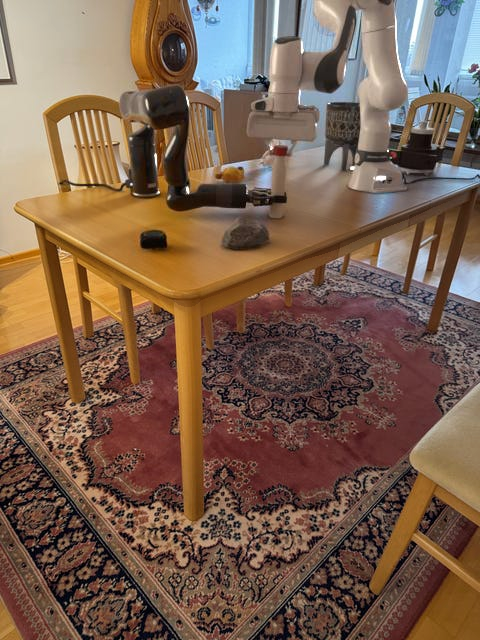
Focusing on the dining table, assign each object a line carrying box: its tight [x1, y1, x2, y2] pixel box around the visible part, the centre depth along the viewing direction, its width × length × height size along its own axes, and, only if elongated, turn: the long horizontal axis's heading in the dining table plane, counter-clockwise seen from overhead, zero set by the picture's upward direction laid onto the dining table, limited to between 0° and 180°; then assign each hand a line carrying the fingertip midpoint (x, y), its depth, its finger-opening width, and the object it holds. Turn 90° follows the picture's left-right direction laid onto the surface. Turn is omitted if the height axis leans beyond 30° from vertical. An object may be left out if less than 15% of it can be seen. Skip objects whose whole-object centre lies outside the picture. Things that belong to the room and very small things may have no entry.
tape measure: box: [139, 229, 168, 250], centre depth 117 cm, size 7×7×4 cm
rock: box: [221, 216, 270, 250], centre depth 119 cm, size 13×9×6 cm, turn 131°
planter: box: [323, 101, 361, 172], centre depth 204 cm, size 20×20×26 cm
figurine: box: [258, 139, 282, 169], centre depth 203 cm, size 8×15×13 cm, turn 146°
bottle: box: [268, 156, 287, 219], centre depth 138 cm, size 4×4×20 cm
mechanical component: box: [388, 120, 446, 176], centre depth 202 cm, size 22×21×30 cm
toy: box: [214, 165, 246, 184], centre depth 181 cm, size 11×6×15 cm
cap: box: [273, 144, 289, 157], centre depth 133 cm, size 4×4×2 cm
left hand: (286, 197), depth 140 cm, fingers closed on bottle, 4 cm apart
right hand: (280, 155), depth 134 cm, fingers closed on cap, 4 cm apart
